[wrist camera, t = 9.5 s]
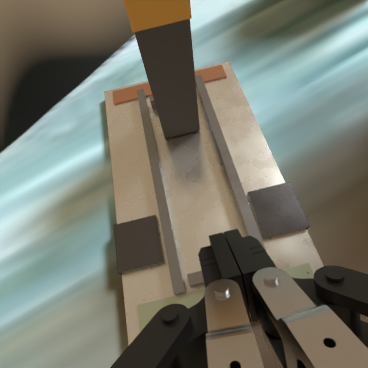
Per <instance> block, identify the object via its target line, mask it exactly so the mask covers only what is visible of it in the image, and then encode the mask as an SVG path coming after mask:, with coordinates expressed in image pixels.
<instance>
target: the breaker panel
mask: <svg viewBox="0 0 368 368" xmlns="http://www.w3.org/2000/svg"><path fill="white" fill-rule="evenodd" d="M194 72H195V83H196V93H197V104H198V115H199V126H200V130H198V131H193V132H189V133H185V134H181V135H177V136H173V137H169V138H165V137H164V134H163V130H162V127H161V123H160V120H159V116H158V113H157V109H156V106H155V102H154V99H153V95H152V92H151V88H150V85H149V81H146V82H142V83H138V84H134V85H130V86H126V87H122V88H118V89H114V90H110V91H105V92H104V94H105V104H106V115H107V125H108V135H109V146H110V156H111V167H112V177H113V188H114V198H115V209H116V219H117V224H116V225H114V234H115V245H116V256H117V267H118V273H119V274H122V282H123V292H124V302H125V313H126V323H127V334H128V344H129V345H130V344H131V343H132V341H133V340H134V339H135V338H136V337H137V336H138V334H139V333H140V332H141V331H142V330H143V328H144V327H145V326H146V325H147V324H148V322H149V321H150V320H151V319H152V318H153V317H154V315H155V314H156V313H157V312H158V311H159V310H160V309H161V308H163V307H165V306H167V305H170V304H182V305H184V306H186V307H187V308H190V307H192V306H194V305H196V304H197V303H198V302H200V300H201V299H202V298H203V297H204V292H205V284H204V279H203V275H202V270H201V265H200V261H199V256H198V254H199V251H200V249H201V248H202V247H206V246H210V240H209V236H210V235H213V234H217V233H221V232H222V233H223V232H225V231H229V230H233V229H238V230H239V232H240V234H241V236H242V237H246V236H252V237H254V238H256V239H258V240H259V242H260V243H261V245H262V247H263V248H264V249H265V251H266V252H267V254H268V255H269V256H270V258H271V259H272V261H273V262H274V264H275V265H276V267H277V268H279V269H282V270H284V271H286V272H287V273H288V274H289V275H290V277H293V278H300V279H306V278H314V273H315V271H316V270H318V269H319V268H321V267H324V265H323V263H322V261H321V259H320V257H319V255H318V253H317V250H316V248H315V246H314V244H313V242H312V240H311V237H310V235H309V233H308V231H307V228H309V226H310V225H309V223H308V221H307V219H306V216H305V214H304V212H303V210H302V208H301V206H300V204H299V202H298V199H297V197H296V195H295V193H294V191H293V189H292V187H291V185H290V183H289V182H286V183H285V181H284V179H283V177H282V175H281V173H280V171H279V168H278V166H277V164H276V162H275V160H274V158H273V156H272V153H271V151H270V149H269V147H268V145H267V143H266V140H265V138H264V136H263V134H262V132H261V130H260V127H259V125H258V123H257V121H256V119H255V117H254V115H253V112H252V110H251V108H250V106H249V104H248V102H247V99H246V97H245V95H244V93H243V91H242V89H241V87H240V84H239V82H238V80H237V78H236V76H235V74H234V71H233V69H232V67H231V65H230V63H229V61H228V62H224V63H220V64H216V65H212V66H208V67H203V68H199V69H195V70H194ZM249 314H250V313H249ZM250 317H251V316H250Z"/></svg>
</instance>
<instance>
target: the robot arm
mask: <svg viewBox="0 0 368 368" xmlns="http://www.w3.org/2000/svg"><path fill="white" fill-rule="evenodd" d="M209 240H210V246H206V247H202V248H201V249H200V251H199V254H198V256H199V261H200V265H201V270H202V275H203V279H204V284H205V292H204V297H203V298H202V299H201V300H200V302H198V303H197V304H196V305H194V306H192V307H190V308H187V307H186V306H184V305H182V304H170V305H167V306H165V307H163V308H161V309H160V310H159V311H158V312H157V313H156V314H155V315H154V317H153V318H152V319H151V320H150V321H149V322H148V324H147V325H146V326H145V327H144V328H143V330H142V331H141V332H140V333H139V334H138V336H137V337H136V338H135V339H134V340H133V341H132V343H131V344H130V345H129V346H128V347H127V349H126V350H125V351H124V352H123V353H122V354H121V356H120V357H119V358H118V359H117V360H116V362H115V363H114V364H113V365H112V366H111V367H110V368H264V365H263V362H262V359H261V355H260V352H259V348H258V345H257V342H256V338H255V335H254V331H253V328H252V325H250V322H251V319H250V316H251V318H252V321H257V320H259V321H260V323H261V326H262V330H263V336H264V338H265V340H266V342H267V344H268V346H269V348H270V350H271V352H272V354H273V356H274V358H275V360H276V361H277V363H278V365H279V367H280V368H368V323H366V322H363V321H361V320H360V314H362V315H365V316H367V317H368V274H365V273H361V272H358V271H354V270H351V269H347V268H344V267H340V266H324V267H321V268H319V269H318V270H316V271H315V273H314V278H306V279H300V278H293V277H290V275H289V274H288V273H287V272H286V271H284V270H282V269H279V268H277V267H276V265H275V264H274V262H273V261H272V259H271V258H270V256H269V255H268V254H267V252H266V251H265V249H264V248H263V247H262V245H261V243H260V242H259V240H258V239H256V238H254V237H252V236H246V237H242V236H241V234H240V232H239V230H238V229H233V230H229V231H225V232H223V233H222V232H221V233H217V234H213V235H210V236H209ZM249 313H250V314H249Z"/></svg>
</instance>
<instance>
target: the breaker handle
mask: <svg viewBox="0 0 368 368" xmlns="http://www.w3.org/2000/svg"><path fill="white" fill-rule="evenodd" d="M124 3H125V7H126V10H127V14H128V17H129V21H130V24H131V28H132V31H133V32H135V36H136V39H137V43H138V46H139V50H140V53H141V57H142V60H143V64H144V67H145V71H146V74H147V78H148V81H149V85H150V88H151V92H152V95H153V99H154V102H155V106H156V109H157V113H158V116H159V120H160V123H161V127H162V130H163V134H164V137H165V138H169V137H173V136H177V135H181V134H185V133H189V132H193V131H198V130H200V126H199V115H198V104H197V93H196V83H195V72H194V61H193V50H192V39H191V29H190V19H191V8H190V0H124Z"/></svg>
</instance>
